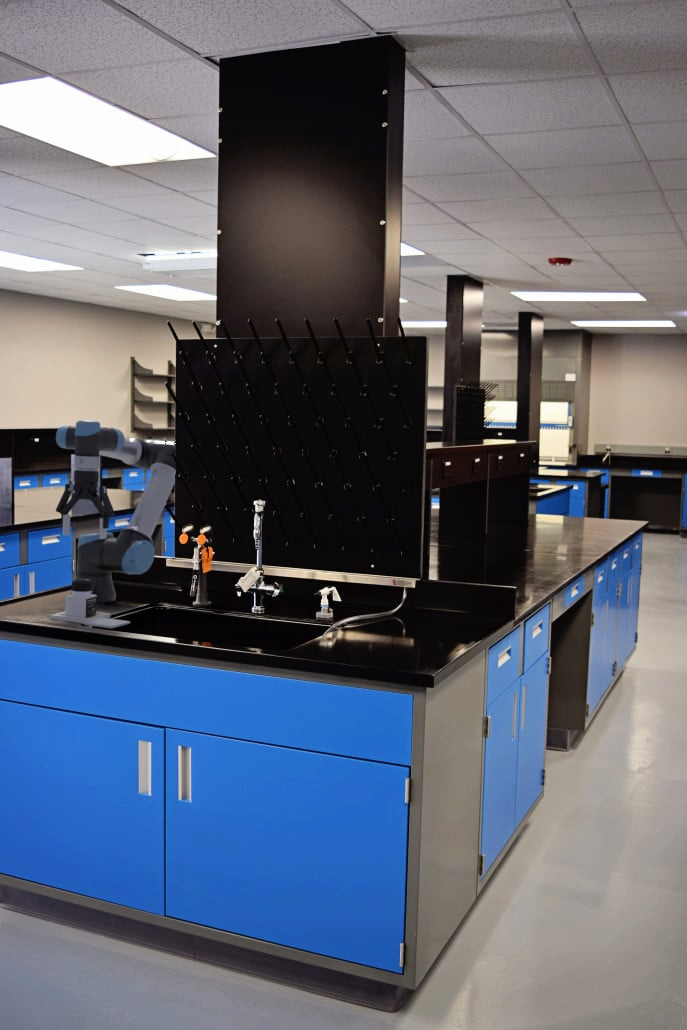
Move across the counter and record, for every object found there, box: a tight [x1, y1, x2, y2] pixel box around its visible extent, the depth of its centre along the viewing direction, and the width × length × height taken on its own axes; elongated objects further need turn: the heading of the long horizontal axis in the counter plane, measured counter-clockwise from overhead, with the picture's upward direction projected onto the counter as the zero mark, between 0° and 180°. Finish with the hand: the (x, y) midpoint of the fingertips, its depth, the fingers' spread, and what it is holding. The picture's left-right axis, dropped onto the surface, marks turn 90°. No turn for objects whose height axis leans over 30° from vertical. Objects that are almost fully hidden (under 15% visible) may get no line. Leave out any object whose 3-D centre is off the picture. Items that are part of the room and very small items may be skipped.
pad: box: [82, 618, 131, 629], centre depth 285 cm, size 10×10×1 cm
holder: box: [49, 611, 112, 624], centre depth 292 cm, size 13×13×1 cm
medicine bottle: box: [64, 578, 98, 618], centre depth 291 cm, size 7×7×12 cm
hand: (84, 537), depth 298 cm, fingers open, 13 cm apart
